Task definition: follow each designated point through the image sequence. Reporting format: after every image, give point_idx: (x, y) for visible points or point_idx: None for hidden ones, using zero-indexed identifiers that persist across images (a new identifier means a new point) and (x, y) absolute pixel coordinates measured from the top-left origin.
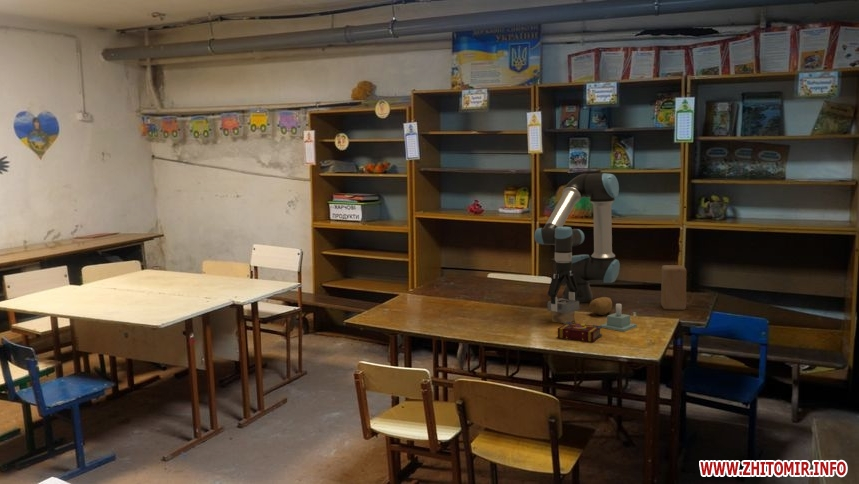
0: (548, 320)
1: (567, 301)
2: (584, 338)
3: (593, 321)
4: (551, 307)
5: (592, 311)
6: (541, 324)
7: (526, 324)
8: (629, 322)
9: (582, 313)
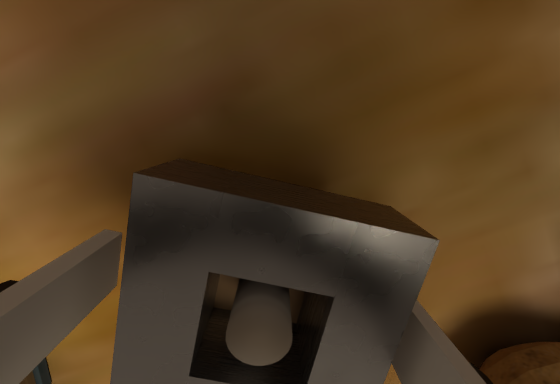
0: (237, 143)
1: (312, 357)
2: None
3: None
4: (81, 246)
5: (485, 365)
6: (106, 145)
7: (40, 42)
8: None
9: (519, 270)
